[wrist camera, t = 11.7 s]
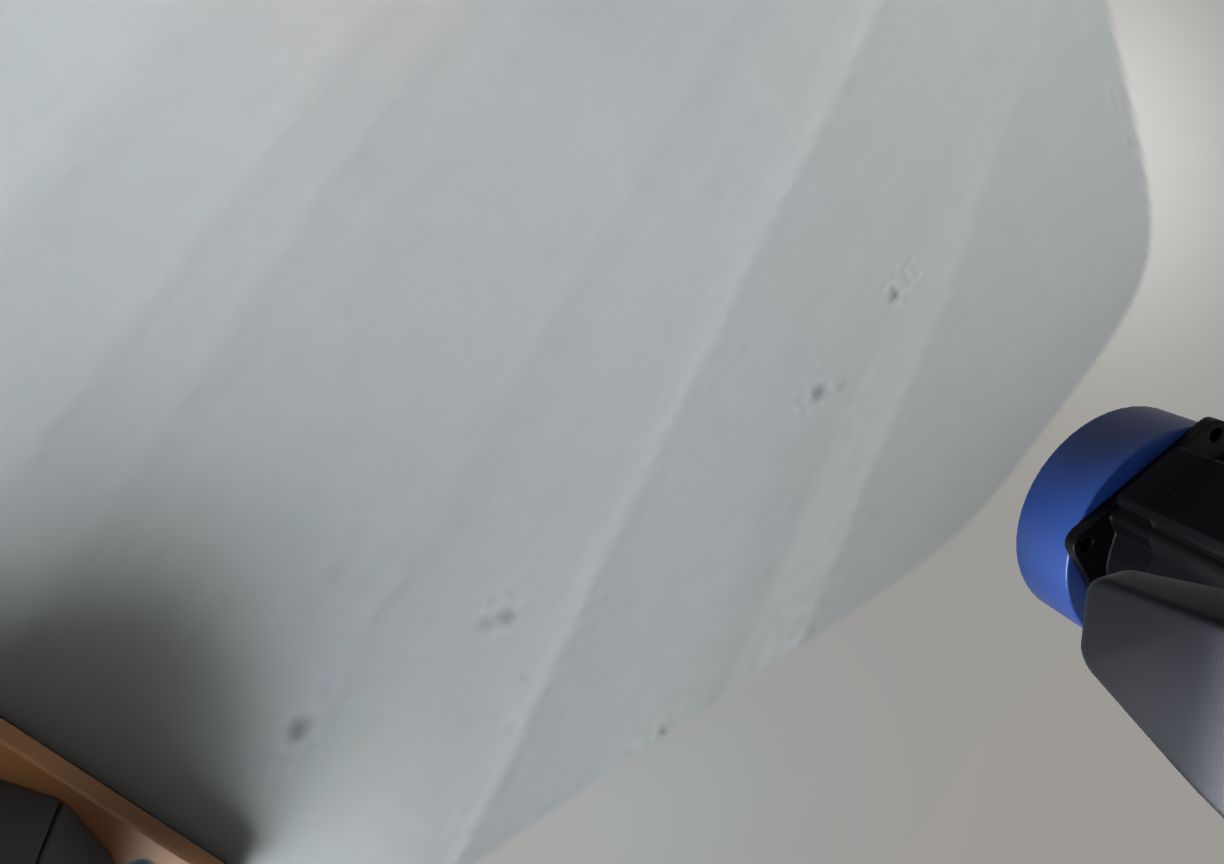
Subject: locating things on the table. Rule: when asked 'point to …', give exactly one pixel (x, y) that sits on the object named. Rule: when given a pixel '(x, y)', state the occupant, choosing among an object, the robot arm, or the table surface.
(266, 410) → the table surface
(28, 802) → the tape roll
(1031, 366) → the table surface
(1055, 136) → the table surface
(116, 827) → the cork mat
